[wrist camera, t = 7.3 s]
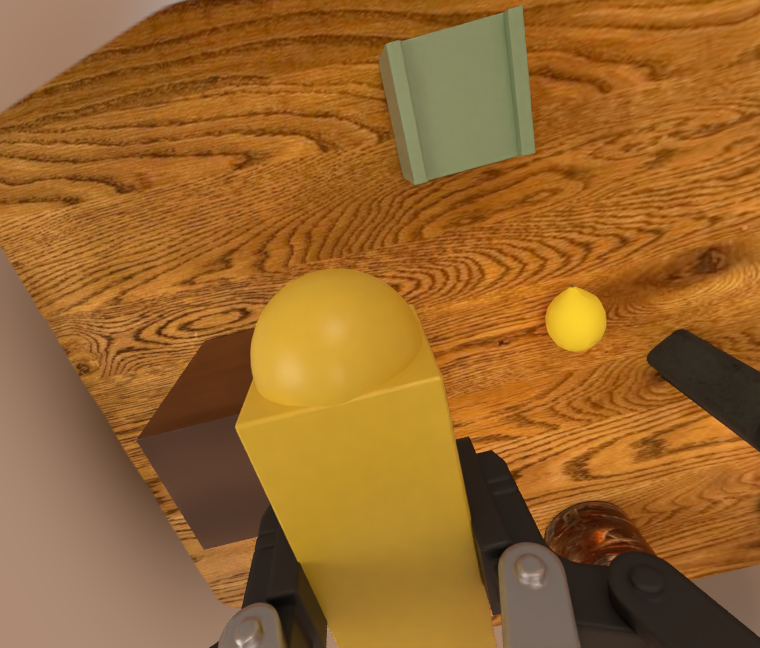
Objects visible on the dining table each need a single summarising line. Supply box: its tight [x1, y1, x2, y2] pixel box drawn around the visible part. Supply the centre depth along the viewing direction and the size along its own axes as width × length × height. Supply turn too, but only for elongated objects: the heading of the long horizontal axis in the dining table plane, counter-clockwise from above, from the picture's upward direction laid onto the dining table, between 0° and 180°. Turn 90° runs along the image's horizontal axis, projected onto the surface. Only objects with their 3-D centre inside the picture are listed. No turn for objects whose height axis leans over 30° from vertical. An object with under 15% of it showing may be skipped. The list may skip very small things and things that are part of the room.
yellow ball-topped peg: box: [235, 268, 497, 648], centre depth 12 cm, size 14×4×4 cm, turn 13°
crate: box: [136, 328, 270, 550], centre depth 37 cm, size 11×11×15 cm
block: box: [378, 5, 535, 185], centre depth 32 cm, size 9×9×7 cm
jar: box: [544, 502, 658, 566], centre depth 50 cm, size 12×12×15 cm
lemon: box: [545, 286, 606, 352], centre depth 41 cm, size 7×5×5 cm
